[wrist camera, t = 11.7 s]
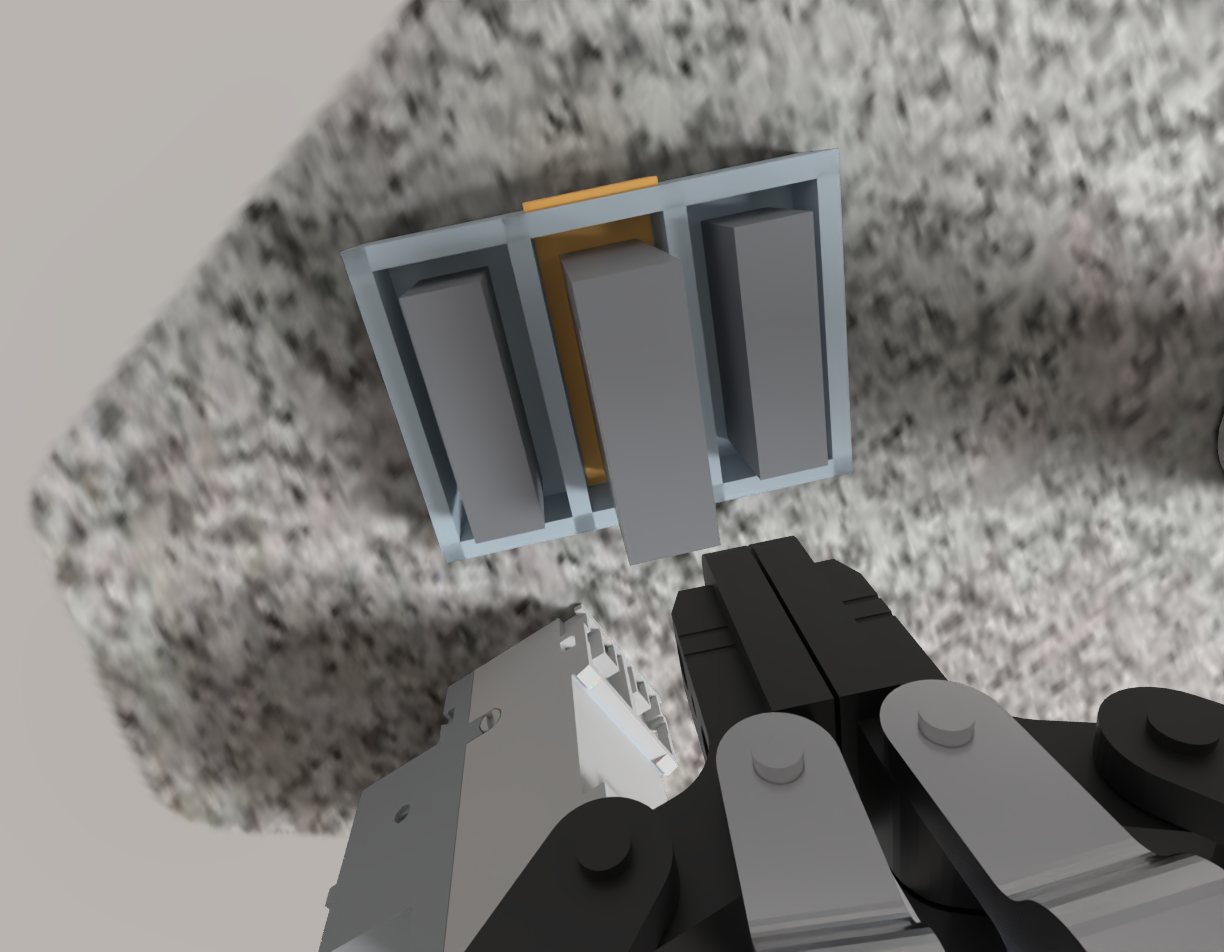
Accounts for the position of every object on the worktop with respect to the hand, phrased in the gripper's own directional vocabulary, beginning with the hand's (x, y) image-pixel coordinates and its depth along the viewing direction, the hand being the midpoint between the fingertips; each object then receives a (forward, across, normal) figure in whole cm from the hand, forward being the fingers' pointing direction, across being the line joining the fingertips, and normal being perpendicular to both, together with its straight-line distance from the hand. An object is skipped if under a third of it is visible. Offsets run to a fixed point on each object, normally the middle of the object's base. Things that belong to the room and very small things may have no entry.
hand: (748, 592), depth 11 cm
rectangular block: (+18, 0, 0) cm, 18 cm away
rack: (+19, 0, 0) cm, 19 cm away
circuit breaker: (+19, +9, +18) cm, 28 cm away
